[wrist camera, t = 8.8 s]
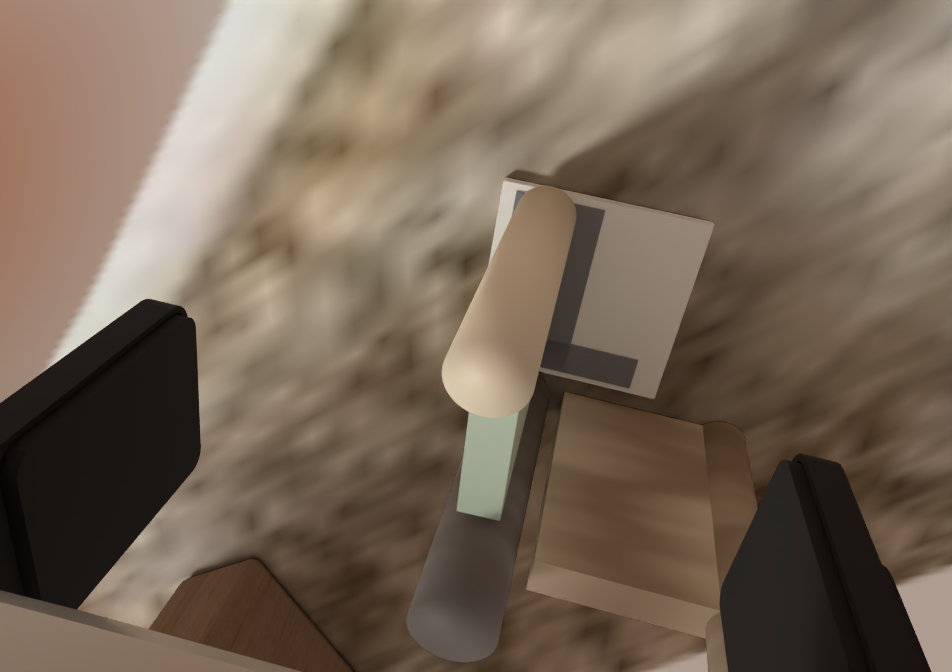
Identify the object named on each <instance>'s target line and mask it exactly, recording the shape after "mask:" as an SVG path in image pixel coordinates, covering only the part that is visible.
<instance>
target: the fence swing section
mask: <svg viewBox="0 0 952 672" xmlns="http://www.w3.org/2000/svg"><path fill="white" fill-rule="evenodd" d="M576 218H577V213H576V208H575V205H574V203H573V201H572V199H571V198H570V197H569V196H568V195H567V194H566V193H565V192H564V191H562V190H560V189H559V188H556V187H553V186H538V187H535V188H532V189H530V190H529V191H527V192H526V193H525V194H524V195H523V196H522V197H521V198H520V200H519V202H518V204H517V206H516V208H515V210H514V212H513V215H512V217H511V219H510V221H509V223H508V225H507V227H506V230H505V232H504V234H503V236H502V238H501V240H500V242H499V244H498V247H497V249H496V251H495V253H494V255H493V257H492V259H491V261H490V264H489V266H488V268H487V270H486V272H485V274H484V276H483V279H482V281H481V283H480V285H479V287H478V289H477V291H476V293H475V296H474V298H473V300H472V302H471V304H470V306H469V308H468V311H467V313H466V315H465V317H464V319H463V321H462V323H461V325H460V328H459V330H458V332H457V334H456V336H455V338H454V340H453V342H452V345H451V347H450V349H449V351H448V353H447V355H446V357H445V360H444V362H443V366H442V380H443V383H444V386H445V389H446V391H447V392H448V394H449V395H450V397H451V398H452V399H453V400H454V401H455V402H456V403H457V404H458V405H459V406H460V407H462V408H463V409H465V410H466V411H468V412H469V416H468V424H467V432H466V440H465V447H464V455H463V463H462V471H461V479H460V487H459V495H458V503H457V511H459V512H463V513H468V514H472V515H476V516H481V517H485V518H489V519H494V520H498V521H500V519H501V515H502V511H503V507H504V503H505V499H506V495H507V491H508V487H509V483H510V479H511V475H512V471H513V467H514V463H515V459H516V455H517V451H518V447H519V443H520V439H521V435H522V431H523V427H524V423H525V419H526V415H527V411H528V407H529V403H530V399H531V398H532V396H533V393H534V389H535V385H536V381H537V377H538V373H539V369H540V365H541V361H542V357H543V353H544V349H545V345H546V341H547V337H548V333H549V329H550V325H551V321H552V316H553V312H554V308H555V304H556V300H557V296H558V292H559V288H560V284H561V280H562V276H563V272H564V268H565V264H566V260H567V256H568V252H569V248H570V244H571V240H572V235H573V231H574V227H575V223H576Z"/></svg>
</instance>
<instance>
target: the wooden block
mask: <svg viewBox="0 0 952 672" xmlns="http://www.w3.org/2000/svg"><path fill="white" fill-rule="evenodd" d="M149 630H152V631H156V632H160V633H163V634H167V635H171V636H174V637H178V638H182V639H185V640H189V641H192V642H196V643H200V644H203V645H207V646H211V647H214V648H218V649H222V650H225V651H229V652H233V653H236V654H240V655H243V656H247V657H251V658H254V659H258V660H261V661H265V662H269V663H272V664H276V665H279V666H283V667H286V668H290V669H294V670H297V671H301V672H353V670H352V669H351V668H350V667H349V666H348V664H347V663H346V662H345V661H344V660H343V659H342V657H341V656H340V655H339V654H338V653H337V652H336V650H335V649H334V648H333V647H332V646H331V644H330V643H329V642H328V641H327V640H326V639H325V637H324V636H323V635H322V634H321V633H320V632H319V630H318V629H317V628H316V627H315V626H314V624H313V623H312V622H311V621H310V620H309V619H308V617H307V616H306V615H305V614H304V613H303V612H302V610H301V609H300V608H299V607H298V606H297V604H296V603H295V602H294V601H293V600H292V599H291V597H290V596H289V595H288V594H287V593H286V592H285V590H284V589H283V588H282V587H281V586H280V584H279V583H278V582H277V581H276V580H275V579H274V577H273V576H272V575H271V574H270V573H269V572H268V570H267V569H266V568H265V567H264V566H263V564H262V563H261V562H259V561H258V560H256V559H248V560H245V561H242V562H239V563H236V564H232V565H229V566H226V567H223V568H220V569H216V570H213V571H210V572H207V573H204V574H200V575H197V576H194V577H191V578H188V579H186V580H185V581H183V582H182V583H181V584H180V586H179V587H178V588H177V590H176V591H175V593H174V594H173V595H172V597H171V598H170V600H169V601H168V602H167V604H166V605H165V607H164V608H163V610H162V611H161V612H160V614H159V615H158V617H157V618H156V619H155V621H154V622H153V624H152V625H151V626H150V628H149Z"/></svg>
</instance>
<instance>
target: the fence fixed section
mask: <svg viewBox="0 0 952 672" xmlns="http://www.w3.org/2000/svg"><path fill="white" fill-rule="evenodd" d="M549 398H550V394H549V389H548V387H547V384H546V383H545V381H544V380H543V379H542V378H541V377H540V376H539V375H538V377H537V381H536V385H535V389H534V393H533V396H532V398H531V399H530V403H529V407H528V411H527V415H526V419H525V423H524V427H523V431H522V435H521V439H520V443H519V447H518V451H517V455H516V459H515V463H514V467H513V471H512V475H511V479H510V483H509V487H508V491H507V495H506V499H505V503H504V507H503V511H502V515H501V519H500V521H498V520H494V519H489V518H485V517H481V516H476V515H472V514H468V513H463V512H459V511H457V503H458V495H459V487H460V479H461V471H462V463H463V456H462V459H461V462H460V465H459V468H458V470H457V473H456V476H455V479H454V482H453V485H452V488H451V490H450V493H449V496H448V499H447V502H446V505H445V508H444V510H443V513H442V516H441V519H440V522H439V525H438V527H437V530H436V533H435V536H434V539H433V542H432V545H431V547H430V550H429V553H428V556H427V559H426V562H425V565H424V567H423V570H422V573H421V576H420V579H419V582H418V585H417V587H416V590H415V593H414V596H413V599H412V602H411V604H410V607H409V610H408V613H407V617H406V625H407V629H408V631H409V633H410V635H411V637H412V638H413V639H414V641H415V642H416V643H417V644H418V645H419V646H421V647H422V648H423V649H424V650H426V651H428V652H429V653H431V654H433V655H435V656H437V657H440V658H442V659H445V660H449V661H455V662H474V661H479V660H482V659H484V658H486V657H488V656H489V655H491V654H492V653H493V652H494V651H495V649H496V647H497V645H498V641H499V636H500V632H501V627H502V622H503V617H504V613H505V608H506V603H507V598H508V594H509V589H510V584H511V579H512V575H513V570H514V565H515V560H516V556H517V551H518V546H519V541H520V537H521V532H522V527H523V522H524V518H525V513H526V508H527V503H528V499H529V494H530V489H531V484H532V480H533V475H534V470H535V465H536V461H537V456H538V451H539V446H540V442H541V437H542V432H543V427H544V423H545V418H546V413H547V408H548V404H549ZM463 455H464V453H463ZM757 509H758V508H757V502H756V497H755V491H754V486H753V480H752V475H751V469H750V464H749V458H748V453H747V448H746V442H745V438H744V435H743V433H742V432H741V431H740V430H739V429H738V428H737V427H735V426H733V425H731V424H729V423H725V422H711V423H707V424H705V425H699V424H694V423H690V422H686V421H682V420H678V419H674V418H670V417H666V416H662V415H658V414H654V413H650V412H645V411H641V410H637V409H633V408H629V407H625V406H621V405H617V404H613V403H609V402H605V401H601V400H596V399H592V398H588V397H584V396H580V395H576V394H572V393H568V392H565V393H564V397H563V401H562V404H561V408H560V412H559V416H558V420H557V426H556V431H555V437H554V442H553V447H552V453H551V458H550V464H549V469H548V474H547V480H546V485H545V490H544V496H543V501H542V507H541V512H540V517H539V523H538V528H537V534H536V539H535V544H534V550H533V555H532V561H531V566H530V571H529V577H528V582H527V588H526V590H529V591H533V592H537V593H540V594H544V595H548V596H551V597H555V598H559V599H562V600H566V601H570V602H573V603H577V604H580V605H584V606H588V607H591V608H595V609H599V610H602V611H606V612H610V613H613V614H617V615H621V616H624V617H628V618H632V619H635V620H639V621H643V622H646V623H650V624H654V625H657V626H661V627H664V628H668V629H672V630H675V631H679V632H683V633H686V634H690V635H694V636H697V637H701V638H705V639H706V647H707V660H708V672H728V667H727V659H726V652H725V644H724V637H723V629H722V621H721V614H720V604H719V602H720V592H721V588H722V584H723V582H724V579H725V577H726V575H727V573H728V571H729V569H730V567H731V564H732V562H733V560H734V558H735V556H736V554H737V552H738V549H739V547H740V545H741V543H742V541H743V539H744V537H745V534H746V532H747V530H748V528H749V526H750V524H751V522H752V520H753V517H754V515H755V513H756V511H757Z"/></svg>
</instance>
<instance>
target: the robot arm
mask: <svg viewBox="0 0 952 672" xmlns="http://www.w3.org/2000/svg"><path fill="white" fill-rule="evenodd" d="M200 450H201V443H200V418H199V394H198V369H197V345H196V326H195V322H194V320H193V319H192V318H189V317H187V313H186V311H185V309H184V308H183V307H181V306H177V305H173V304H169V303H165V302H160V301H156V300H152V299H145V300H143V301H141V302H139V303H138V304H137V305H135V306H134V307H133V308H131V309H130V310H128V311H127V312H126V313H124V314H123V315H122V316H120V317H119V318H117V319H116V320H115V321H113V322H112V323H110V324H109V325H108V326H106V327H105V328H104V329H102V330H101V331H99V332H98V333H97V334H95V335H94V336H92V337H91V338H90V339H88V340H87V341H86V342H84V343H83V344H81V345H80V346H79V347H77V348H76V349H75V350H73V351H72V352H70V353H69V354H68V355H66V356H65V357H63V358H62V359H61V360H59V361H58V362H57V363H55V364H54V365H52V366H51V367H50V368H48V369H47V370H46V371H44V372H43V373H41V374H40V375H39V376H37V377H36V378H35V379H33V380H32V381H30V382H29V383H28V384H26V385H25V386H23V387H22V388H21V389H19V390H18V391H16V392H15V393H14V394H12V395H11V396H10V397H8V398H7V399H5V400H4V401H3V402H1V403H0V672H301V671H297V670H294V669H290V668H286V667H283V666H279V665H276V664H272V663H269V662H265V661H261V660H258V659H254V658H251V657H247V656H243V655H240V654H236V653H233V652H229V651H225V650H222V649H218V648H214V647H211V646H207V645H203V644H200V643H196V642H192V641H189V640H185V639H182V638H178V637H174V636H171V635H167V634H163V633H160V632H156V631H152V630H149V629H145V628H141V627H138V626H134V625H131V624H127V623H123V622H120V621H116V620H112V619H109V618H105V617H101V616H98V615H94V614H90V613H87V612H83V611H79V610H77V609H78V607H79V606H80V605H81V604H82V603H83V601H84V600H85V599H86V598H87V597H88V595H89V594H90V593H91V592H92V591H93V589H94V588H95V587H96V586H97V585H98V584H99V582H100V581H101V580H102V579H103V578H104V576H105V575H106V574H107V573H108V572H109V570H110V569H111V568H112V567H113V566H114V564H115V563H116V562H117V561H118V560H119V558H120V557H121V556H122V555H123V554H124V552H125V551H126V550H127V549H128V548H129V546H130V545H131V544H132V543H133V542H134V541H135V539H136V538H137V537H138V536H139V535H140V533H141V532H142V531H143V530H144V529H145V527H146V526H147V525H148V524H149V523H150V521H151V520H152V519H153V518H154V517H155V515H156V514H157V513H158V512H159V511H160V509H161V508H162V507H163V506H164V505H165V503H166V502H167V501H168V500H169V499H170V498H171V496H172V495H173V494H174V493H175V492H176V490H177V489H178V488H179V487H180V486H181V484H182V483H183V482H184V481H185V480H186V478H187V477H188V476H189V475H190V474H191V472H192V471H193V470H194V468H195V466H196V464H197V462H198V460H199V456H200ZM719 604H720V614H721V621H722V629H723V637H724V644H725V652H726V659H727V667H728V672H931V670H930V667H929V665H928V663H927V660H926V658H925V656H924V653H923V650H922V648H921V645H920V643H919V641H918V638H917V636H916V634H915V631H914V628H913V626H912V624H911V621H910V619H909V617H908V614H907V612H906V609H905V607H904V604H903V602H902V599H901V597H900V594H899V592H898V590H897V587H896V585H895V582H894V580H893V577H892V576H891V574H890V572H889V571H888V569H887V568H886V567H885V566H883V565H882V564H881V562H880V559H879V557H878V554H877V552H876V549H875V547H874V544H873V542H872V539H871V537H870V534H869V532H868V529H867V527H866V524H865V522H864V519H863V517H862V514H861V512H860V509H859V507H858V504H857V502H856V499H855V497H854V494H853V492H852V490H851V487H850V485H849V482H848V480H847V477H846V475H845V472H844V470H843V468H842V466H841V464H839V463H837V462H833V461H829V460H825V459H820V458H816V457H812V456H808V455H804V454H798V455H796V456H795V457H794V458H793V460H792V461H787V460H782V461H781V462H780V463H779V465H778V466H777V468H776V470H775V472H774V475H773V477H772V479H771V481H770V483H769V485H768V487H767V490H766V492H765V494H764V496H763V498H762V500H761V502H760V505H759V507H758V509H757V511H756V513H755V515H754V517H753V520H752V522H751V524H750V526H749V528H748V530H747V532H746V534H745V537H744V539H743V541H742V543H741V545H740V547H739V549H738V552H737V554H736V556H735V558H734V560H733V562H732V564H731V567H730V569H729V571H728V573H727V575H726V577H725V579H724V582H723V584H722V588H721V592H720V602H719Z"/></svg>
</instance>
